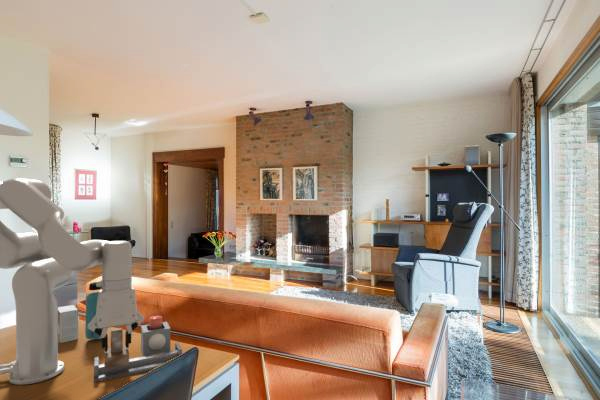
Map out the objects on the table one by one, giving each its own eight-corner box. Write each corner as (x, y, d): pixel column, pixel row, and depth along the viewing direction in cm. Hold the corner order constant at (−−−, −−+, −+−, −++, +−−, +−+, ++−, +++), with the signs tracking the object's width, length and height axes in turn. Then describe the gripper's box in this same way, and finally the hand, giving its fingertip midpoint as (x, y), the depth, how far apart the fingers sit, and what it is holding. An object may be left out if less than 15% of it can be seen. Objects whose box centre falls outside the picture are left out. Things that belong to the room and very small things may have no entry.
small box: (55, 336, 127) (55, 307, 127) (73, 332, 131) (73, 304, 131) (59, 343, 122) (59, 312, 122) (78, 339, 125) (78, 309, 125)
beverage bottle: (97, 344, 121) (97, 285, 121) (80, 342, 122) (80, 284, 122) (110, 337, 127) (111, 281, 127) (94, 335, 129) (95, 280, 128)
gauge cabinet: (143, 359, 110) (143, 333, 110) (140, 350, 117) (141, 325, 117) (170, 353, 114) (170, 328, 114) (166, 345, 120) (166, 321, 120)
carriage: (104, 369, 97) (104, 336, 97) (104, 359, 104) (104, 328, 104) (129, 364, 100) (129, 332, 100) (127, 354, 106) (127, 324, 106)
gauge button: (149, 329, 113) (149, 320, 113) (148, 326, 116) (148, 316, 116) (163, 327, 115) (163, 318, 115) (161, 324, 118) (161, 314, 118)
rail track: (94, 382, 96) (94, 367, 96) (94, 370, 103) (94, 356, 103) (182, 363, 107) (182, 350, 107) (177, 353, 114) (177, 341, 114)
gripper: (81, 290, 95) (81, 359, 95) (150, 283, 103) (150, 347, 103) (82, 284, 101) (82, 349, 101) (147, 278, 109) (147, 338, 109)
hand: (116, 347), depth 102 cm, fingers open, 4 cm apart
